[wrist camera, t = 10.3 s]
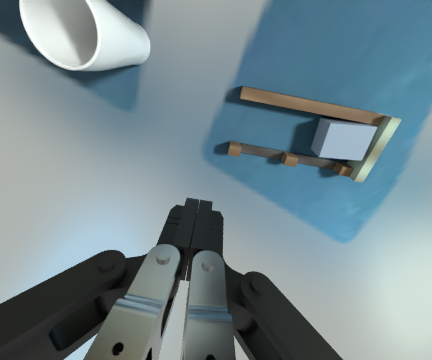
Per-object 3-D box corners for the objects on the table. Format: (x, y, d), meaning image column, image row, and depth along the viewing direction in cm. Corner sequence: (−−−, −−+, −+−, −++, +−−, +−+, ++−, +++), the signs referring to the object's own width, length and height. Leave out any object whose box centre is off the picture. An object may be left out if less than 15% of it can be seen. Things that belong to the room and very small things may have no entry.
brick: (320, 117, 34) (330, 123, 30) (361, 120, 34) (377, 127, 30) (310, 148, 36) (318, 157, 33) (348, 151, 36) (361, 160, 33)
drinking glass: (110, 62, 31) (25, 58, 18) (111, 8, 28) (8, -46, 15) (153, 76, 32) (101, 81, 19) (159, 24, 28) (101, -14, 15)
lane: (241, 85, 32) (243, 87, 28) (383, 113, 33) (401, 119, 29) (228, 149, 37) (228, 157, 33) (350, 172, 38) (362, 182, 34)
